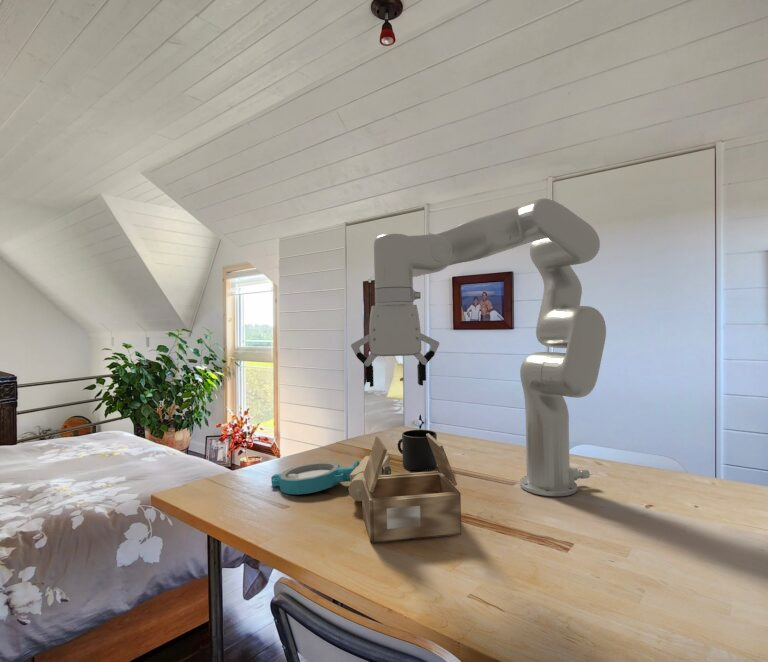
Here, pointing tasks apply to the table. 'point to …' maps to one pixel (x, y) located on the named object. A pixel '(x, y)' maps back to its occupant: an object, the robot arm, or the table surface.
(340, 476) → the butterfly valve
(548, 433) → the robot arm
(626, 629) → the table surface
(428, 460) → the mug
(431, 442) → the flap
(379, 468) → the flap
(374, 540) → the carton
